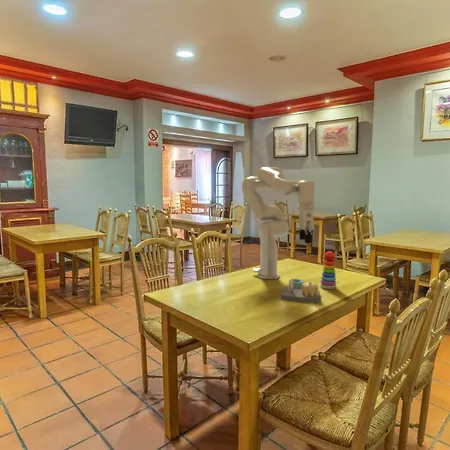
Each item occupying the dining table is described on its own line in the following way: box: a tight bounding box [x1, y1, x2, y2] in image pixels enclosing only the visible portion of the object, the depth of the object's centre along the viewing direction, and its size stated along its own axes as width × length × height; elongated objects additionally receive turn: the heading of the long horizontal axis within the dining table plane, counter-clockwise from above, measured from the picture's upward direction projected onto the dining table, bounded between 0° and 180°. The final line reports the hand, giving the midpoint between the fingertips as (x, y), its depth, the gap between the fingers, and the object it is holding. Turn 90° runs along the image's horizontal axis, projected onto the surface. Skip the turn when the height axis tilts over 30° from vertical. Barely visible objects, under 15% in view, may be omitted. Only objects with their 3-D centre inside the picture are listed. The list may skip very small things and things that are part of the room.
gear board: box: [279, 279, 321, 304], centre depth 164 cm, size 17×12×8 cm
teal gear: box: [288, 278, 306, 289], centre depth 176 cm, size 8×8×4 cm
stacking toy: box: [319, 251, 337, 290], centre depth 178 cm, size 8×8×19 cm
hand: (305, 241), depth 171 cm, fingers open, 9 cm apart
